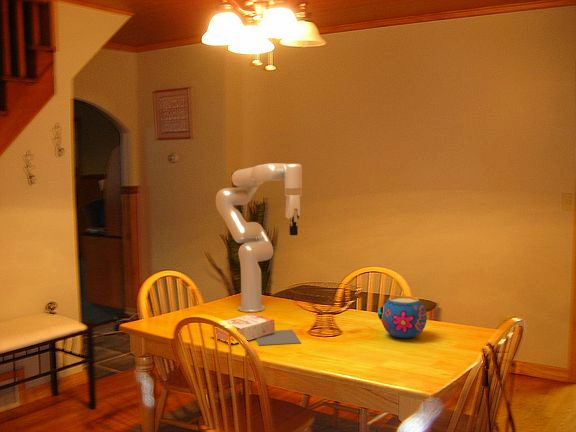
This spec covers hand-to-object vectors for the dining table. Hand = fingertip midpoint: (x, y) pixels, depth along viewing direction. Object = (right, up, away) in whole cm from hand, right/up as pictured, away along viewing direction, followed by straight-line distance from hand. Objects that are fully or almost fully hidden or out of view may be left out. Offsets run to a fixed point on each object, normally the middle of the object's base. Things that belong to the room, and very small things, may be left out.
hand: (293, 235), depth 252 cm
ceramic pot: (+43, -39, -24) cm, 63 cm away
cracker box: (-12, -35, -16) cm, 40 cm away
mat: (-7, -39, -25) cm, 47 cm away
